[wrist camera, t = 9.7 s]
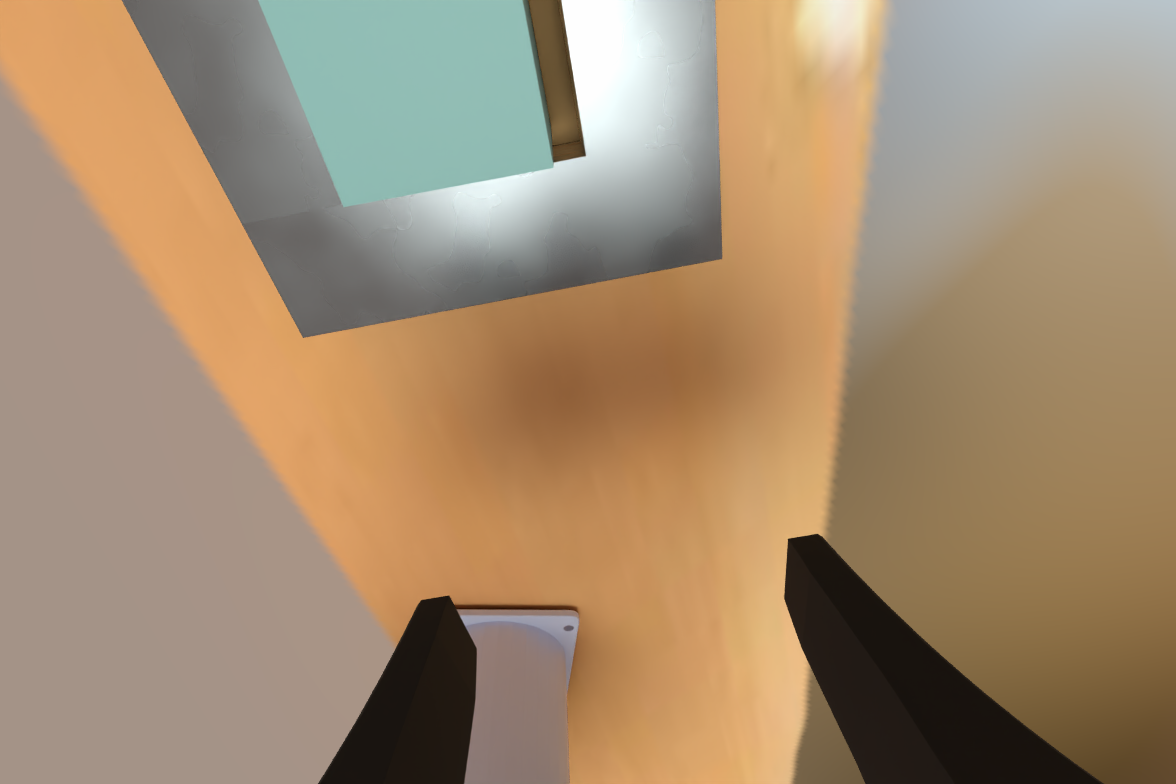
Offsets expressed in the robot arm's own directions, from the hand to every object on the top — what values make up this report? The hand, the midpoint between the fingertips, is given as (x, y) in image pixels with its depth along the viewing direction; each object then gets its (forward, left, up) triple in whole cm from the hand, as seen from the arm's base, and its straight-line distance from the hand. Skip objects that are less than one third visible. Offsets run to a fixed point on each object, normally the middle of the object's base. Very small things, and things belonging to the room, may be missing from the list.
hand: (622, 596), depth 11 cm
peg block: (+9, +5, -10) cm, 14 cm away
